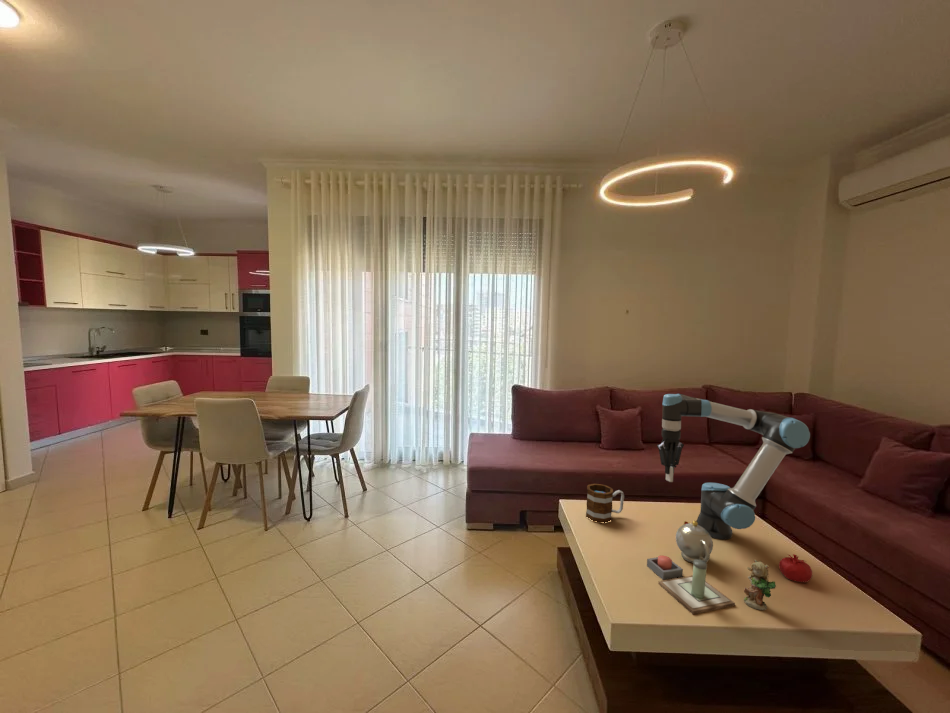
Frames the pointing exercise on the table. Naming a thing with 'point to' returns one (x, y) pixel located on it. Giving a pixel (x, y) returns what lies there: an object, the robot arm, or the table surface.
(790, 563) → the pomegranate
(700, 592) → the cylinder
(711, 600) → the picture board
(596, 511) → the mug
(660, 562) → the button
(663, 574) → the button housing
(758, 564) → the figurine
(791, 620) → the table surface
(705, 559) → the teapot
